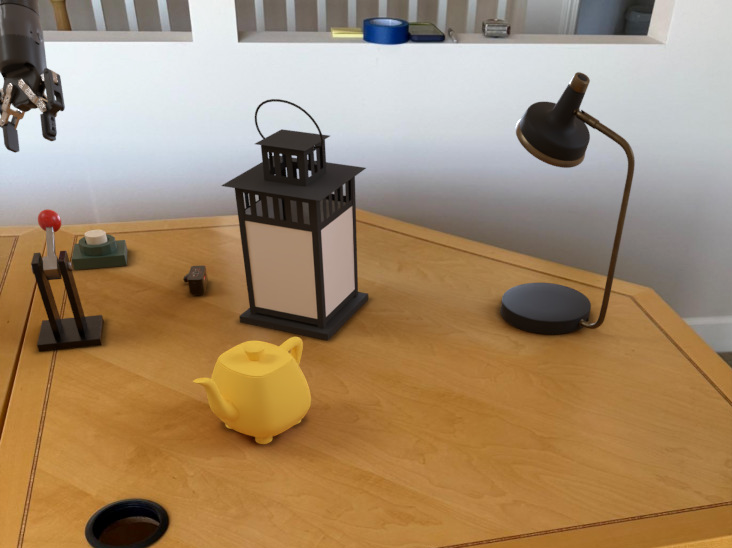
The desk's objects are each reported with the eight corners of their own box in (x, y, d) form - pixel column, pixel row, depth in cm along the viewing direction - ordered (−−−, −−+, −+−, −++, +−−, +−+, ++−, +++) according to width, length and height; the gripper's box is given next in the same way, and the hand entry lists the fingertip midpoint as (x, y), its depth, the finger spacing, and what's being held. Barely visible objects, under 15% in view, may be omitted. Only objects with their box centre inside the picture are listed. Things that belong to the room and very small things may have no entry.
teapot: (176, 439, 110) (159, 362, 102) (274, 381, 122) (265, 308, 114) (243, 474, 104) (230, 395, 96) (338, 410, 116) (335, 335, 108)
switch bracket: (44, 326, 135) (19, 248, 126) (103, 321, 137) (83, 243, 127) (39, 351, 128) (12, 271, 119) (101, 345, 130) (79, 265, 121)
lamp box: (74, 270, 152) (68, 250, 150) (77, 254, 158) (71, 234, 155) (126, 265, 154) (122, 246, 151) (127, 250, 160) (123, 230, 157)
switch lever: (41, 221, 130) (34, 205, 127) (63, 220, 131) (57, 203, 127) (44, 283, 125) (37, 267, 122) (67, 281, 126) (61, 265, 123)
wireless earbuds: (209, 280, 150) (206, 263, 147) (204, 296, 144) (202, 279, 142) (184, 280, 149) (181, 264, 147) (179, 296, 144) (176, 280, 142)
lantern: (368, 299, 144) (364, 87, 121) (328, 340, 132) (315, 114, 109) (286, 283, 149) (267, 77, 125) (240, 322, 137) (209, 101, 113)
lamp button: (86, 246, 152) (83, 237, 151) (87, 239, 155) (84, 230, 154) (107, 245, 153) (105, 236, 151) (107, 237, 155) (105, 228, 154)
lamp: (533, 284, 150) (564, 55, 124) (627, 324, 138) (683, 79, 112) (477, 309, 141) (497, 69, 116) (572, 353, 130) (618, 97, 104)
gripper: (-30, 46, 129) (-19, 147, 130) (32, 21, 123) (43, 127, 124) (9, 66, 135) (19, 161, 137) (69, 43, 130) (79, 143, 131)
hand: (31, 145), depth 131 cm, fingers open, 8 cm apart
